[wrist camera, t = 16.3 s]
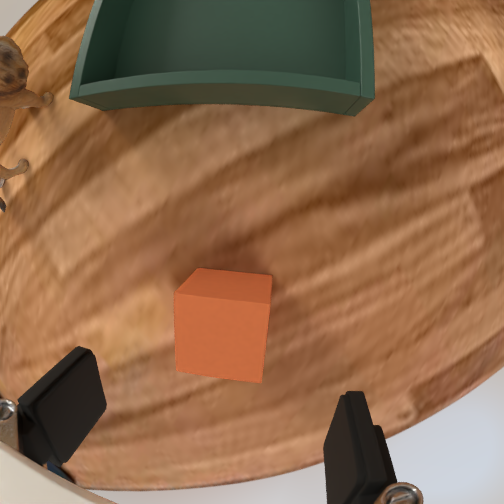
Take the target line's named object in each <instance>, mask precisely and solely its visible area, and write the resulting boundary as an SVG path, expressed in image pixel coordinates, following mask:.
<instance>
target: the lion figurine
mask: <svg viewBox="0 0 504 504" xmlns="http://www.w3.org/2000/svg"><path fill="white" fill-rule="evenodd" d="M28 74H29V71H28V65H27V64H26V62H25V61H24V60H23V55H22V53H21V50H20V48H19V46H17V45H16V43H15V42H14V41H13V40H12V39H10V38H8V37H6V36H0V145H1V143H2V142H3V141H4V139H5V137H6V135H7V133H8V131H9V129H10V127H11V124H12V120H13V117H14V113H15V110H16V109H19V108H23V109H25V108H28V107H37V108H38V107H45V106H47V105H49V104H50V103H51V102H52V99H53V95H52V94H51V93H50V92H49V93H48V92H46V93H45V94H44V96H40V97H39V96H38V95H37V94H35V93H34V92H32V91H29V90H26V89H25V88H26V85H27V84H26V82H27V77H28ZM27 168H28V161H27V160H25V159H21V160H20V161H19V163H18V165H17V166H16V167H15V168H12V169H7V168H5V167H3V166H2V165H0V188H1V187H2V186H3V184H4V179H9V178H11V177H13V176H15V175H19V174H22V173H24V172H25V171H26V170H27ZM0 208H1V210H2V211H3V212H5V208H6V204H5V202H4V201H3V200H2V198H1V197H0Z"/></svg>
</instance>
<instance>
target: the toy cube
mask: <svg viewBox="0 0 504 504" xmlns="http://www.w3.org/2000/svg"><path fill="white" fill-rule="evenodd" d="M272 277H273V276H272V275H264V274H254V273H244V272H234V271H225V270H215V269H206V268H197V269H196V270H195V271H194V272H193V273H192V274H191V275H190V277H189V278H188V279H187V280H186V281H185V282H184V283H183V284H182V285H181V286H180V287H179V288H178V289H177V290H176V291H175V292H174V329H175V355H176V371H180V372H185V373H191V374H197V375H203V376H209V377H216V378H223V379H230V380H238V381H247V382H256V383H261V382H262V374H263V366H264V358H265V350H266V341H267V332H268V323H269V314H270V305H271V291H272Z"/></svg>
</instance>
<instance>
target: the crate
mask: <svg viewBox="0 0 504 504" xmlns="http://www.w3.org/2000/svg"><path fill="white" fill-rule="evenodd" d="M69 99H71V100H74V101H77V102H80V103H83V104H86V105H89V106H91V107H94V108H97V109H100V110H102V111H105V110H113V109H122V108H133V107H144V106H159V105H181V104H237V105H259V106H274V107H286V108H296V109H306V110H314V111H322V112H329V113H336V114H343V115H349V116H356V115H357V114H358V113H359V112H360V111H361V110H362V109H364V108H365V107H366V106H367V105H368V104H369V103H370V102H372V101H373V100H374V99H375V71H374V45H373V29H372V17H371V6H370V0H95V1H94V4H93V7H92V10H91V13H90V16H89V19H88V22H87V25H86V28H85V32H84V35H83V39H82V42H81V46H80V50H79V53H78V57H77V62H76V66H75V70H74V75H73V80H72V85H71V90H70V95H69Z"/></svg>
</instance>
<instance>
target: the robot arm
mask: <svg viewBox="0 0 504 504" xmlns="http://www.w3.org/2000/svg"><path fill="white" fill-rule="evenodd" d="M18 402H19V404H18V405H17V406H16V404H15V403H14V402H13V401H12V400H9V399H0V504H117V503H115V502H112V501H110V500H108V499H105V498H103V497H100V496H98V495H96V494H94V493H92V492H89V491H87V490H85V489H83V488H81V487H79V486H77V485H75V484H73V483H71V482H69V481H67V480H65V479H63V478H61V477H60V476H58V475H56V474H54V473H52V472H51V471H49V470H47V465H46V462H47V461H48V460H49V461H50V462H52V463H53V464H55V465H57V466H59V467H61V465H62V464H63V463H66V462H67V461H68V460H69V459H70V458H71V456H72V455H73V453H74V452H75V451H76V449H77V448H78V447H79V445H80V444H81V443H82V441H83V440H84V438H85V437H86V436H87V434H88V433H89V432H90V430H91V429H92V428H93V426H94V425H95V424H96V422H97V421H98V420H99V418H100V417H101V416H102V414H103V413H104V412H105V410H106V406H107V403H106V399H105V396H104V392H103V388H102V384H101V380H100V375H99V371H98V366H97V362H96V357H95V355H94V354H93V353H92V351H91V350H90V349H86V348H83V347H80V346H78V347H76V348H75V349H74V350H72V351H71V352H70V353H69V354H68V355H67V356H65V357H64V358H63V359H62V360H61V361H60V362H59V363H57V364H56V365H55V366H54V367H53V368H52V369H51V370H50V371H48V372H47V373H46V374H45V375H44V376H43V377H42V378H41V379H40V380H38V381H37V382H36V383H35V384H34V385H33V386H32V387H31V388H30V389H29V390H27V391H26V392H25V393H24V394H23V395H22V396H21V397H20V398H19V399H18ZM323 451H324V464H325V476H326V492H327V504H423V495H422V493H421V491H420V490H419V489H418V488H417V487H416V486H414V485H412V484H409V483H406V482H398V483H397V479H396V476H395V472H394V468H393V465H392V461H391V457H390V454H389V450H388V447H387V444H386V440H385V437H384V434H383V430H382V428H381V426H380V425H373V422H372V419H371V415H370V412H369V409H368V405H367V402H366V399H365V395H364V393H363V391H347V392H346V394H345V395H341V396H340V399H339V402H338V405H337V408H336V411H335V414H334V417H333V420H332V422H331V425H330V428H329V431H328V434H327V436H326V439H325V442H324V448H323Z"/></svg>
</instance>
